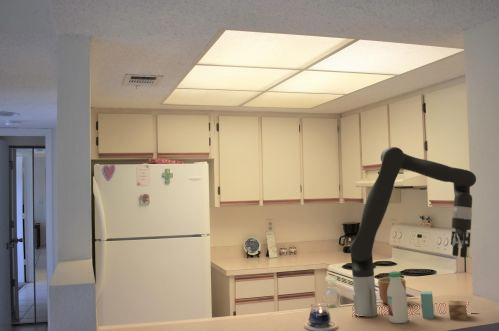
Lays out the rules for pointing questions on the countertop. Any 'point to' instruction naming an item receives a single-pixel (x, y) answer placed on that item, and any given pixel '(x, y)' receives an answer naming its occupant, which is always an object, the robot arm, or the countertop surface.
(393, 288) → the milk bottle
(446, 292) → the countertop surface
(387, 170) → the robot arm
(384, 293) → the planter
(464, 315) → the tower base
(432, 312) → the teal brick
